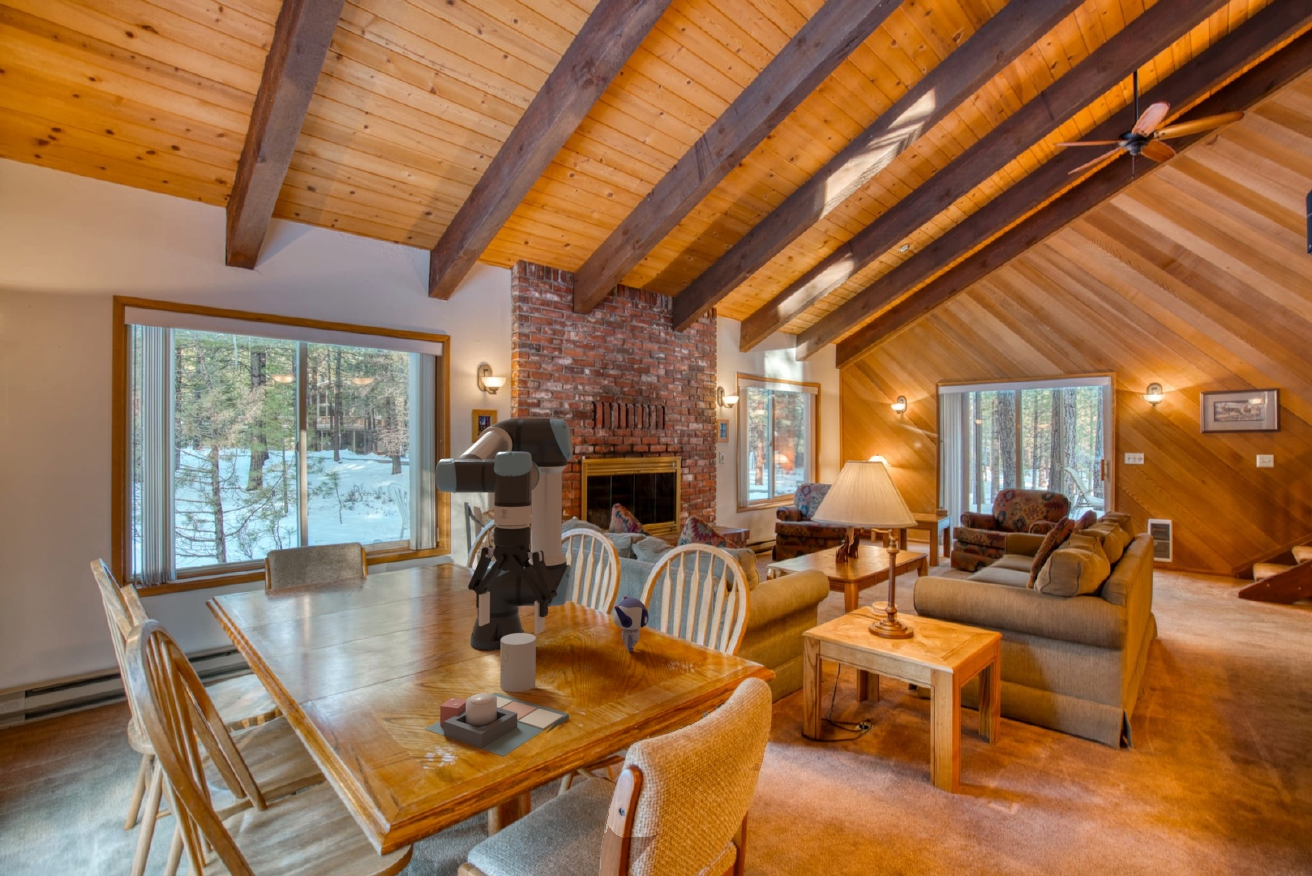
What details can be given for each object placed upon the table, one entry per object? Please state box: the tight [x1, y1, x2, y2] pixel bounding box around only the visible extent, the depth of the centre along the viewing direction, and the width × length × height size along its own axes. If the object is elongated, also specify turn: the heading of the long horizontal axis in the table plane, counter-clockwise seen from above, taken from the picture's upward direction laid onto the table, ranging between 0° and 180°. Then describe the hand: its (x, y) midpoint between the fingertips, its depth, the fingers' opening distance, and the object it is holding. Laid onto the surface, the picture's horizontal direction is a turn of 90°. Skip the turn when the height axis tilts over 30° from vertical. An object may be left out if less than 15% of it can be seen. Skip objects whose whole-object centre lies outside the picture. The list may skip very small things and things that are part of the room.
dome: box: [465, 692, 497, 727], centre depth 124 cm, size 6×6×4 cm
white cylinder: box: [499, 632, 537, 693], centre depth 146 cm, size 8×8×12 cm
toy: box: [612, 596, 650, 653], centre depth 172 cm, size 11×10×15 cm
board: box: [424, 692, 570, 757], centre depth 128 cm, size 21×20×4 cm
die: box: [439, 697, 467, 726], centre depth 127 cm, size 4×4×4 cm
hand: (511, 628), depth 128 cm, fingers open, 13 cm apart
